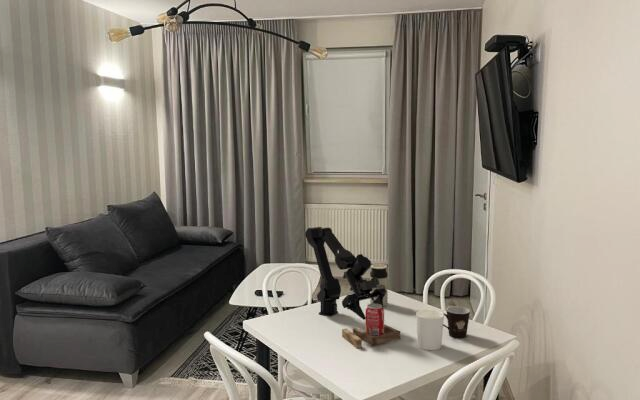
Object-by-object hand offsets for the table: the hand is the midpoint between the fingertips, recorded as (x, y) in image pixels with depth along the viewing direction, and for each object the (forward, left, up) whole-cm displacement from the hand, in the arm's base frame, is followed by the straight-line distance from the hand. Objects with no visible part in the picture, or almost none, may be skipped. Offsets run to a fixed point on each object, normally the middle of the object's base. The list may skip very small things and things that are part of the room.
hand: (374, 316), depth 185 cm
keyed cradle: (+1, -1, -8) cm, 8 cm away
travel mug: (-16, +35, -8) cm, 40 cm away
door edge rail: (-4, -9, -8) cm, 13 cm away
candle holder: (+21, +2, -8) cm, 23 cm away
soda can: (+1, -1, -7) cm, 8 cm away
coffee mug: (+25, +17, -8) cm, 32 cm away
